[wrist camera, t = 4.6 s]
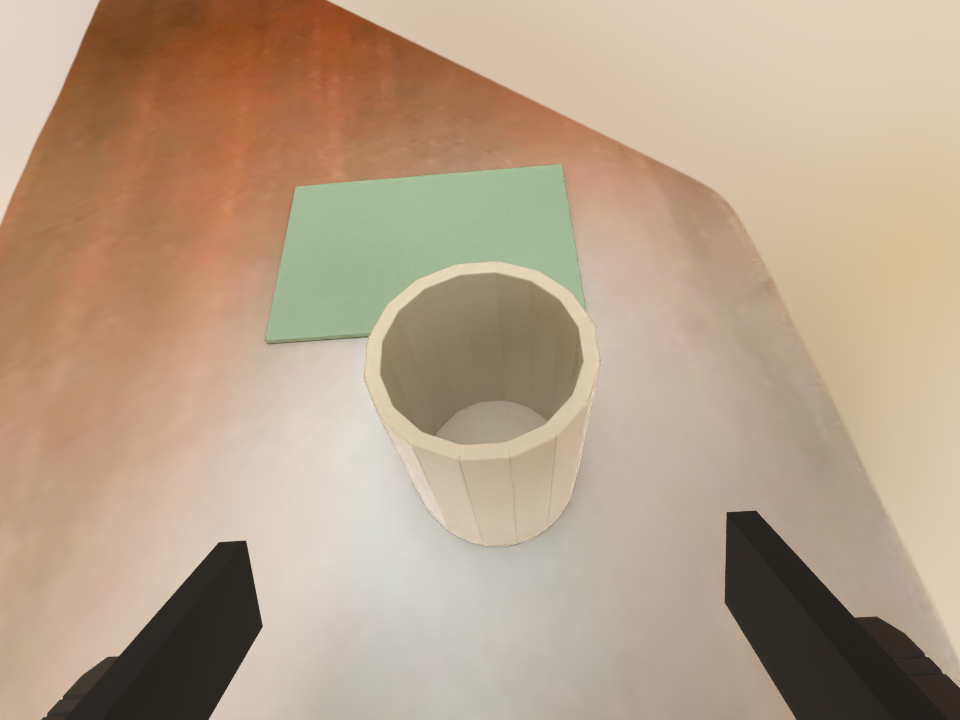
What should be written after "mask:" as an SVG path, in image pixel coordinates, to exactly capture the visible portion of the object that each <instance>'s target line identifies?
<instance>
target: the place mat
mask: <svg viewBox="0 0 960 720" xmlns="http://www.w3.org/2000/svg"><path fill="white" fill-rule="evenodd" d="M490 261H497V262H498V261H500V262H504V263H509V264H513V265H517V266H521V267H526V268H530V269H534V270H537V271H540V272H541V273H543V274H544V275H546V276H547V277H549V278H551V279H552V280H554V281H555V282H557V283H559V284H560V285H562V286H563V287H565V288H566V289H568V290H570V292H572V293H573V295H574V296H575V298H576V299H577V300H578V302H579V303H580V305H581V306H582V307H583V309H584V310H585V312H586V307H585V301H584V295H583V289H582V283H581V277H580V271H579V265H578V259H577V253H576V247H575V241H574V235H573V229H572V223H571V217H570V211H569V205H568V199H567V193H566V187H565V181H564V175H563V169H562V164H555V165H543V166H531V167H520V168H508V169H496V170H484V171H473V172H461V173H449V174H437V175H425V176H414V177H402V178H390V179H378V180H367V181H355V182H343V183H331V184H320V185H308V186H296V188H295V193H294V198H293V203H292V208H291V213H290V218H289V223H288V228H287V233H286V238H285V243H284V248H283V253H282V258H281V263H280V268H279V273H278V278H277V283H276V288H275V293H274V298H273V303H272V308H271V313H270V318H269V323H268V328H267V333H266V338H265V341H266V343H267V344H270V343H284V342H298V341H312V340H325V339H339V338H353V337H367V336H370V334H371V332H372V330H373V328H374V327H375V325H376V323H377V321H378V320H379V318H380V316H381V314H382V312H383V311H384V309H385V307H386V306H387V304H388V303H389V302H391V301H392V300H393V299H394V298H395V297H397V296H398V295H399V294H400V293H401V292H403V291H404V290H405V289H406V288H407V287H409V286H410V285H411V284H412V283H413V282H415V281H416V280H418V279H420V278H422V277H425V276H427V275H430V274H432V273H435V272H437V271H440V270H442V269H445V268H447V267H450V266H453V265H457V264H464V263H477V262H490Z"/></svg>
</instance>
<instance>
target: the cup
mask: <svg viewBox="0 0 960 720" xmlns="http://www.w3.org/2000/svg"><path fill="white" fill-rule="evenodd" d="M600 362H601V360H600V355H599V349H598V343H597V337H596V331H595V326H594V324H593V322H592V320H591V319H590V317H589V316H588V315H587V313H586V312H585V310H584V309H583V307H582V306H581V305H580V303H579V302H578V300H577V299H576V298H575V296H574V295H573V293H572V292H570V290H568V289H566V288H565V287H563V286H562V285H560V284H559V283H557V282H555V281H554V280H552V279H551V278H549V277H547V276H546V275H544V274H543V273H541V272H540V271H537V270H534V269H530V268H526V267H521V266H517V265H513V264H509V263H504V262H500V261H498V262H497V261H490V262H477V263H464V264H457V265H453V266H450V267H447V268H445V269H442V270H440V271H437V272H435V273H432V274H430V275H427V276H425V277H422V278H420V279H418V280H416V281H415V282H413V283H412V284H411V285H410V286H409V287H407V288H406V289H405V290H404V291H403V292H401V293H400V294H399V295H398V296H397V297H395V298H394V299H393V300H392V301H391V302H389V303H388V304H387V306H386V307H385V309H384V311H383V312H382V314H381V316H380V318H379V320H378V321H377V323H376V325H375V327H374V328H373V330H372V332H371V334H370V336H369V337H368V340H367V347H366V359H365V371H364V381H365V383H366V386H367V388H368V391H369V393H370V396H371V398H372V401H373V403H374V406H375V408H376V411H377V413H378V416H379V418H380V420H381V422H382V424H383V425H384V427H385V429H386V431H387V433H388V435H389V437H390V439H391V441H392V443H393V445H394V447H395V449H396V450H397V452H398V454H399V456H400V458H401V460H402V462H403V464H404V466H405V468H406V470H407V472H408V474H409V475H410V477H411V479H412V481H413V483H414V485H415V487H416V489H417V491H418V493H419V495H420V497H421V499H422V500H423V502H424V504H425V506H426V508H427V510H428V511H429V512H430V513H431V514H432V515H433V517H434V518H435V519H436V520H437V521H438V522H439V523H440V525H442V526H443V527H444V528H445V529H446V530H448V531H449V532H450V533H452V534H454V535H455V536H457V537H458V538H461V539H463V540H465V541H467V542H471V543H474V544H477V545H483V546H495V547H501V546H509V545H514V544H518V543H522V542H525V541H527V540H530V539H532V538H534V537H536V536H537V535H539V534H541V533H542V532H544V531H545V530H546V529H548V528H549V527H550V526H551V525H552V524H553V523H554V522H555V521H556V520H557V519H558V518H559V517H560V515H561V514H562V513H563V511H564V510H565V508H566V506H567V505H568V504H569V501H570V499H571V496H572V493H573V490H574V485H575V482H576V479H577V475H578V471H579V466H580V461H581V456H582V452H583V447H584V442H585V437H586V432H587V427H588V422H589V417H590V412H591V408H592V403H593V398H594V393H595V388H596V383H597V378H598V373H599V368H600Z"/></svg>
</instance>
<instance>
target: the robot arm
mask: <svg viewBox="0 0 960 720" xmlns="http://www.w3.org/2000/svg"><path fill="white" fill-rule="evenodd" d="M725 604H726V605H727V607H728V609H729V610H730V612H731V613H732V615H733V617H734V618H735V620H736V622H737V623H738V625H739V626H740V628H741V630H742V631H743V633H744V635H745V636H746V638H747V640H748V641H749V643H750V644H751V646H752V648H753V649H754V651H755V653H756V654H757V656H758V658H759V659H760V661H761V662H762V664H763V666H764V667H765V669H766V671H767V672H768V674H769V675H770V677H771V679H772V680H773V682H774V684H775V685H776V687H777V689H778V690H779V692H780V693H781V695H782V697H783V698H784V700H785V702H786V703H787V705H788V706H789V708H790V710H791V711H792V713H793V715H794V716H795V718H796V720H960V688H959V687H958V686H957V685H956V684H955V683H954V682H953V681H952V680H951V679H950V678H949V677H948V676H947V675H946V674H942V672H941V669H940V668H939V667H938V666H937V665H936V664H935V663H934V662H933V661H932V660H931V659H930V658H929V657H925V654H924V652H923V651H922V650H921V649H920V648H919V647H918V646H917V645H916V644H915V643H914V642H913V641H912V640H911V639H910V638H909V637H908V636H907V635H906V634H905V633H903V632H901V631H900V630H898V629H896V628H895V627H893V626H892V625H890V624H888V623H887V622H885V621H883V620H882V619H880V618H878V617H859V618H854V617H853V616H852V614H851V613H850V612H849V611H848V610H847V609H846V608H845V607H844V606H843V605H842V604H841V602H840V601H839V600H838V599H837V598H836V597H835V596H834V595H833V594H832V593H831V592H830V591H829V589H828V588H827V587H826V586H825V585H824V584H823V583H822V582H821V581H820V580H819V579H818V578H817V576H816V575H815V574H814V573H813V572H812V571H811V570H810V569H809V568H808V567H807V566H806V564H805V563H804V562H803V561H802V560H801V559H800V558H799V557H798V556H797V555H796V554H795V553H794V551H793V550H792V549H791V548H790V547H789V546H788V545H787V544H786V543H785V542H784V541H783V540H782V538H781V537H780V536H779V535H778V534H777V533H776V532H775V531H774V530H773V529H772V528H771V526H770V525H769V524H768V523H767V522H766V521H765V520H764V519H763V518H762V517H761V516H760V515H759V513H758V512H757V511H741V512H727V523H726V569H725ZM262 627H263V626H262V621H261V615H260V610H259V605H258V600H257V595H256V590H255V584H254V579H253V574H252V569H251V564H250V559H249V553H248V548H247V543H246V541H232V542H219V543H218V544H217V545H216V546H215V547H214V549H213V550H212V551H211V552H210V553H209V554H208V555H207V557H206V558H205V559H204V560H203V561H202V562H201V563H200V565H199V566H198V567H197V568H196V569H195V570H194V571H193V573H192V574H191V575H190V576H189V577H188V578H187V579H186V581H185V582H184V583H183V584H182V585H181V586H180V587H179V589H178V590H177V591H176V592H175V593H174V594H173V595H172V597H171V598H170V599H169V600H168V601H167V602H166V603H165V605H164V606H163V607H162V608H161V609H160V610H159V611H158V613H157V614H156V615H155V616H154V617H153V618H152V619H151V621H150V622H149V623H148V624H147V625H146V626H145V627H144V628H143V630H142V631H141V632H140V633H139V634H138V635H137V636H136V638H135V639H134V640H133V641H132V642H131V643H130V644H129V646H128V647H127V648H126V649H125V650H124V651H123V652H122V654H121V655H120V656H118V657H107V658H106V659H104V660H103V661H101V662H100V663H99V664H97V665H96V666H95V667H93V668H92V669H90V670H89V671H88V672H86V673H85V674H83V675H82V676H81V677H80V678H79V679H78V681H77V682H76V683H75V684H74V685H73V686H72V687H71V688H70V689H69V690H68V691H67V692H66V694H65V695H64V696H63V699H62V700H59V701H58V702H57V703H56V704H55V706H54V707H53V708H52V709H51V710H50V711H49V712H48V715H47V717H43V719H42V720H209V718H210V716H211V714H212V713H213V711H214V709H215V708H216V706H217V704H218V702H219V701H220V699H221V697H222V695H223V694H224V692H225V690H226V689H227V687H228V685H229V683H230V682H231V680H232V678H233V677H234V675H235V673H236V671H237V670H238V668H239V666H240V665H241V663H242V661H243V659H244V658H245V656H246V654H247V653H248V651H249V649H250V647H251V646H252V644H253V642H254V641H255V639H256V637H257V635H258V634H259V632H260V630H261V629H262Z"/></svg>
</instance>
